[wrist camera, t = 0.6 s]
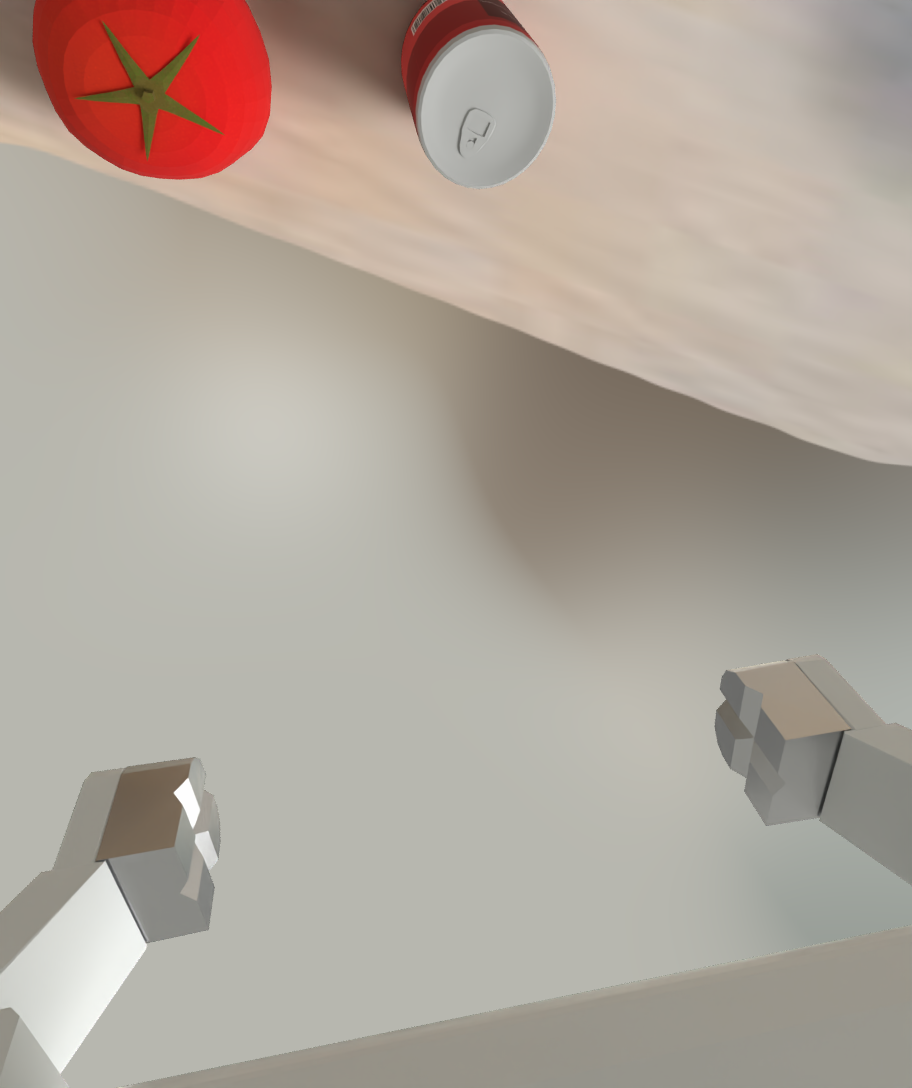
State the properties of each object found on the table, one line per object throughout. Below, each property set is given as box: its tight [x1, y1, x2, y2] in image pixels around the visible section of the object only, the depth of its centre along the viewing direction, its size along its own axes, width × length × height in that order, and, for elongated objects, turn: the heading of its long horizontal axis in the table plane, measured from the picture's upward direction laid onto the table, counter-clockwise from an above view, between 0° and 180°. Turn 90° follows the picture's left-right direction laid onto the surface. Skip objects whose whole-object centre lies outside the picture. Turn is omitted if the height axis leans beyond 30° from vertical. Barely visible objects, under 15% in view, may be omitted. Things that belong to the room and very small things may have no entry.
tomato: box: [33, 0, 272, 179], centre depth 41 cm, size 11×12×10 cm
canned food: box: [401, 0, 556, 189], centre depth 44 cm, size 8×8×11 cm
